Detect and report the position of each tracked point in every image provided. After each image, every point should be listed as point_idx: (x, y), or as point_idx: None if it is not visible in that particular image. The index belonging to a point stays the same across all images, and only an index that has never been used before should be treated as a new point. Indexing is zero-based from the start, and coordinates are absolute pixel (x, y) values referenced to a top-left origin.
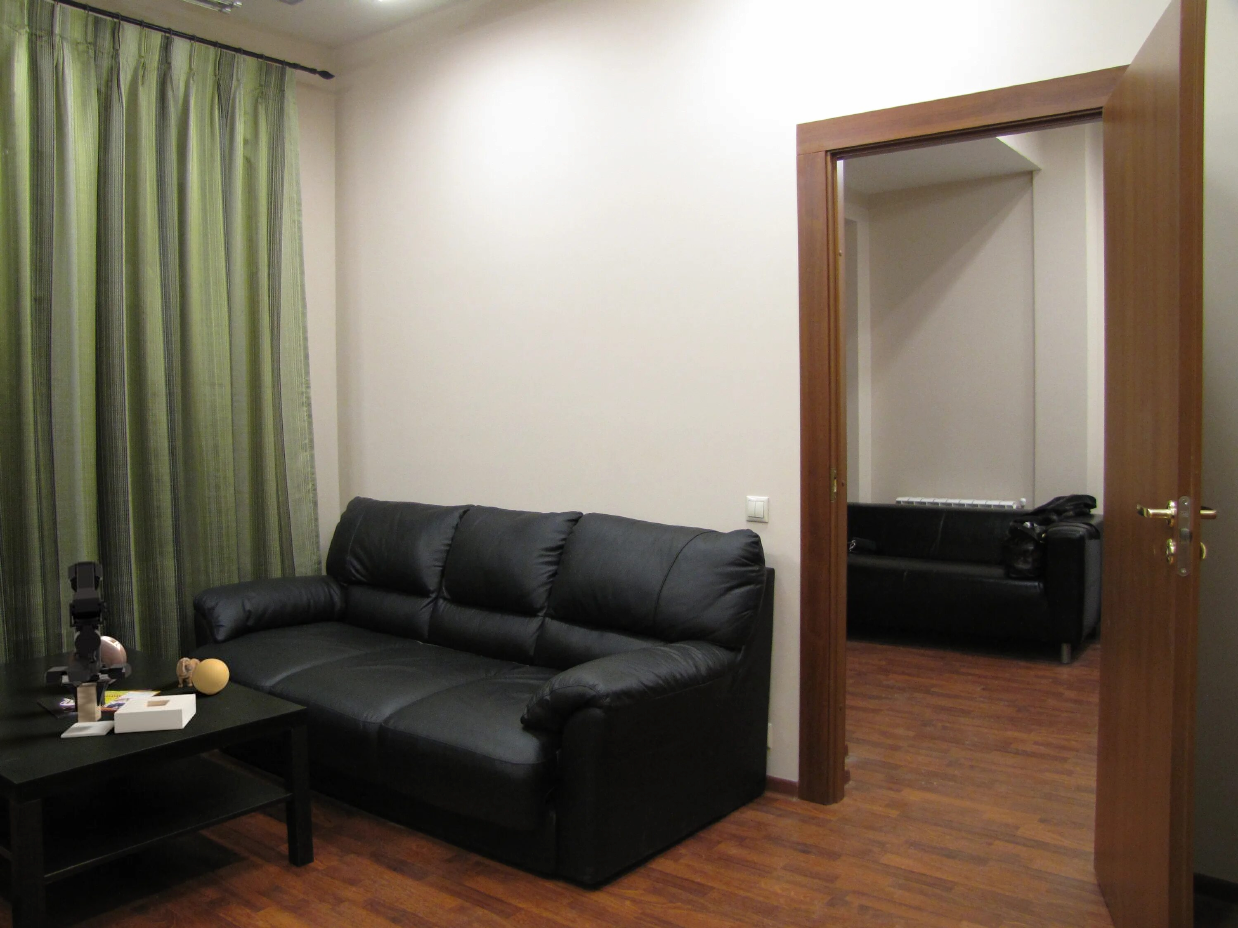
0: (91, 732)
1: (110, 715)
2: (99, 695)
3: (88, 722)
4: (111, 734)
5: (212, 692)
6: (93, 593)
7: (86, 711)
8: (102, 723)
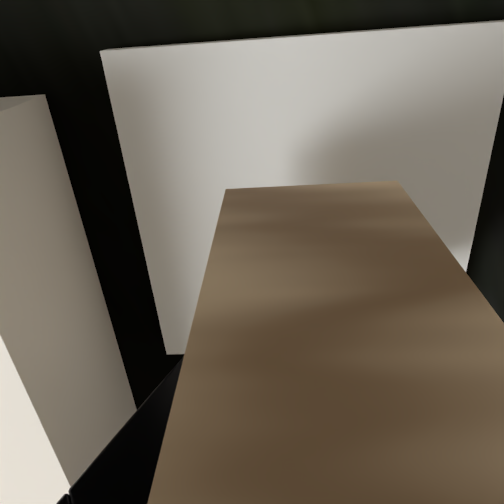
0: (234, 70)
1: None
2: (120, 462)
3: None
4: (48, 48)
5: None
6: None
7: (326, 241)
8: None
